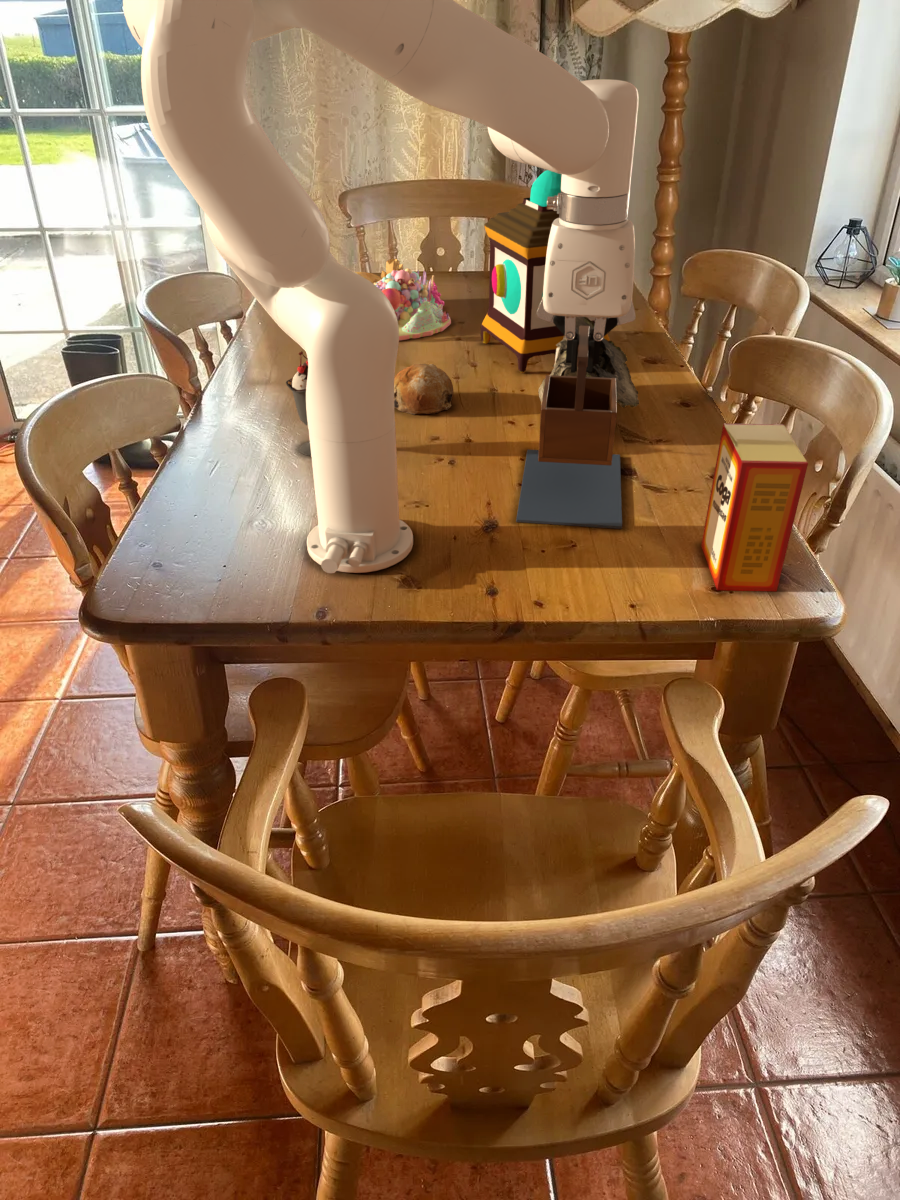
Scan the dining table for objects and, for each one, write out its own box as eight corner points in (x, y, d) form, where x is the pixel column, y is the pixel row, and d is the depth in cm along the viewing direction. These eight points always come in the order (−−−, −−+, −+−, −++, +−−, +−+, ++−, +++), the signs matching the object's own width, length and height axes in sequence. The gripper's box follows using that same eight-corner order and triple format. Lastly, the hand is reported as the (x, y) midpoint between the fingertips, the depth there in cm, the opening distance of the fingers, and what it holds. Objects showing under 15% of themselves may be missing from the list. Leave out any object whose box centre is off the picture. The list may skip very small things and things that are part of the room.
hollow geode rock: (578, 402, 155) (520, 336, 151) (639, 354, 149) (580, 284, 145) (569, 472, 132) (500, 397, 128) (640, 419, 126) (570, 337, 121)
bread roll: (434, 439, 141) (455, 396, 136) (374, 408, 140) (394, 364, 135) (446, 413, 149) (467, 372, 144) (391, 384, 148) (410, 342, 143)
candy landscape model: (307, 316, 179) (303, 268, 174) (399, 292, 192) (398, 246, 187) (387, 348, 164) (385, 296, 159) (481, 320, 177) (482, 271, 172)
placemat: (621, 529, 112) (622, 526, 111) (516, 522, 113) (516, 519, 113) (619, 457, 128) (620, 454, 127) (527, 451, 129) (527, 449, 129)
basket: (611, 465, 112) (622, 358, 104) (538, 462, 113) (543, 355, 105) (610, 428, 121) (621, 326, 113) (543, 424, 122) (548, 324, 114)
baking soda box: (701, 545, 108) (723, 420, 99) (756, 546, 108) (784, 421, 99) (717, 590, 101) (743, 459, 91) (776, 591, 100) (808, 460, 91)
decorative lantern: (620, 362, 158) (640, 174, 141) (516, 378, 152) (524, 184, 135) (566, 327, 173) (578, 154, 156) (470, 341, 167) (471, 162, 150)
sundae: (296, 462, 127) (285, 357, 118) (290, 442, 132) (279, 340, 124) (343, 456, 128) (335, 352, 120) (335, 436, 134) (327, 336, 125)
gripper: (521, 215, 98) (515, 377, 109) (667, 218, 97) (647, 383, 107) (526, 200, 104) (520, 355, 115) (663, 202, 103) (644, 360, 113)
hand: (581, 368), depth 111 cm, fingers closed on basket, 1 cm apart
